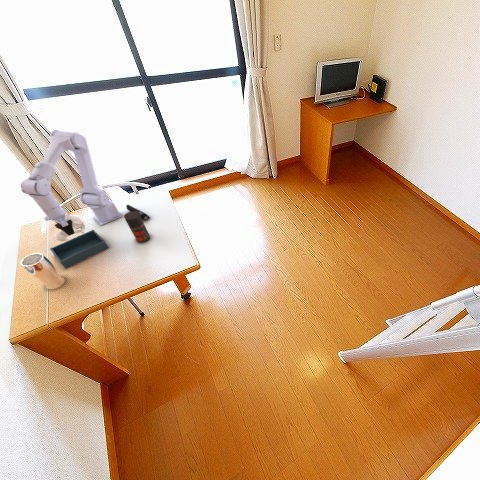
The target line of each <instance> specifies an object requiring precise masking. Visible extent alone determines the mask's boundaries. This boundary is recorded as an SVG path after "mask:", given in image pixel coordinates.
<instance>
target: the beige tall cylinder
mask: <svg viewBox="0 0 480 480" xmlns="http://www.w3.org/2000/svg"><path fill="white" fill-rule="evenodd" d="M20 265H21V267H23V268H24V269H25V271H26V272H27V273H29V275H31V276H32V277H34V278H35V279H37V280H39V281H40V282H42V283H43V285H44V286H45V287H46V289H48V290H56V289H59V288H61V287H62V286H63V285H64V284H65V281H66V279H65V278H64V277H63V276H61V275H60V274H59V273H58V272H57V270H56V267H55V266H54V264H53V263H52V262H51V260H50V259H48V258H47V256H45V255H44V254H43V253H41V252H34V253H31V254H29V255H26V256H24V258H22V259H21V261H20Z"/></svg>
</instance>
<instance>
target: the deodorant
mask: <svg viewBox="0 0 480 480" xmlns="http://www.w3.org/2000/svg"><path fill="white" fill-rule="evenodd" d="M123 217H124V218H123V219H124V220H125V222H126V224H127V226H128V227H129V229H130V231H131V233H132V235H133V237H134V239H135V241H136V242H137V243H138V244H145V243H148V242H149V241H150V240H151V235H150V233H149V231H148V229H147V227H146V225H145V223H144V221H143V220H142V219H141V216H140V214H139V213H138V212H137V211H131V212H130V211H128V212H126V213H125V214H124V215H123Z"/></svg>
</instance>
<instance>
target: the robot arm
mask: <svg viewBox="0 0 480 480" xmlns="http://www.w3.org/2000/svg"><path fill="white" fill-rule="evenodd" d="M48 141H49V142H50V143H49V145H48V148H47V150H46V152H45V155H44V158H43V159H42V161H38V162H37V163H35V164H34V166H33V167H34V168H33V169H32V171H31V173H30V174H29V176H28V178H26V179H24V180H23V181H21V183H20V188H21V192H22V193H23V194H26V195H28V196H29V197H30V198H32V199H33V201H34V202H35V203H36V204H37V206H38V207H39V208H40V209H41V210H42V212H43V213H44V214H45V216H44V218H43V219H44V220H45V221H46V222H48V221H51V222H54V223H56V224H54V227H55V228H57V229H58V230H60V229H61V230H62V231H64V232H65V233H66V234H67V235H69V236H68V237H70V236H73V235H75V234H74V230H73V227H72V223H73V222H72V220H71V219H70V220H68V221H66V217H67V211H66V210H64V209H63V208H62V206H61V204H60V203H59V201H57V198H56V197H55V196H54V194H52V192H51V191H52V179H53V177H54V175H55V174H56V172H57V169H56V167H55V165H56V164H57V162H58V161H59V159H60V158H61V157H62V155H63V153H64V152H68V151H70V152H72V153H73V155H74V157H75V161H76V165H77V169H78V172H79V175H80V178H81V183H82V185H83V187H82V188H81V189H80V190H79V192H80V202H81V203H82V204H83V205H86V206H87V207H88V208H90V210H91V211H92V213H93V215H94V216H95V217H94V219H95V220H96V222H98V223H99V224H100V226H103V225H106V224H108V223H110V222H113V221H115V220H117V219H119V218H121V217H122V215H121V214H120V212H119V210H118V208H117V206H116V205H115V203H114V202H113V201H112V200H111V199H110V197H109V195H108V194H107V192H106V189H104V188H103V187H101V186H100V185H99V183H98V179H97V176H96V171H95V168H94V164H93V161H92V157H91V153H90V149H89V145H88V141H87V138H86V136H85V135H83V134H82V133H80V132H78V131H66V130H60V129H59V130H58V129H54V130H52V131H51V132H50V135H49V137H48Z"/></svg>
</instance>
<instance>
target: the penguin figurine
mask: <svg viewBox="0 0 480 480" xmlns="http://www.w3.org/2000/svg"><path fill="white" fill-rule="evenodd" d="M70 219H71V220H72V222H73V223H72V227H73V230H74V234H73V235H75V234H79V233H82V234H84V233H86V225H85V222H84V221H83V218H81V217H80V216H78V215H76V214H70V215H67V216H66V221H68V220H70ZM68 237H70V236H69V235H67V234H66V233H65V232H64V231H62V230H61V229H59V230H58V231H57V232H56V233H55V234H54V239H55V240H56V241H58V242H66V241H69V239H67V238H68Z"/></svg>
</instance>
